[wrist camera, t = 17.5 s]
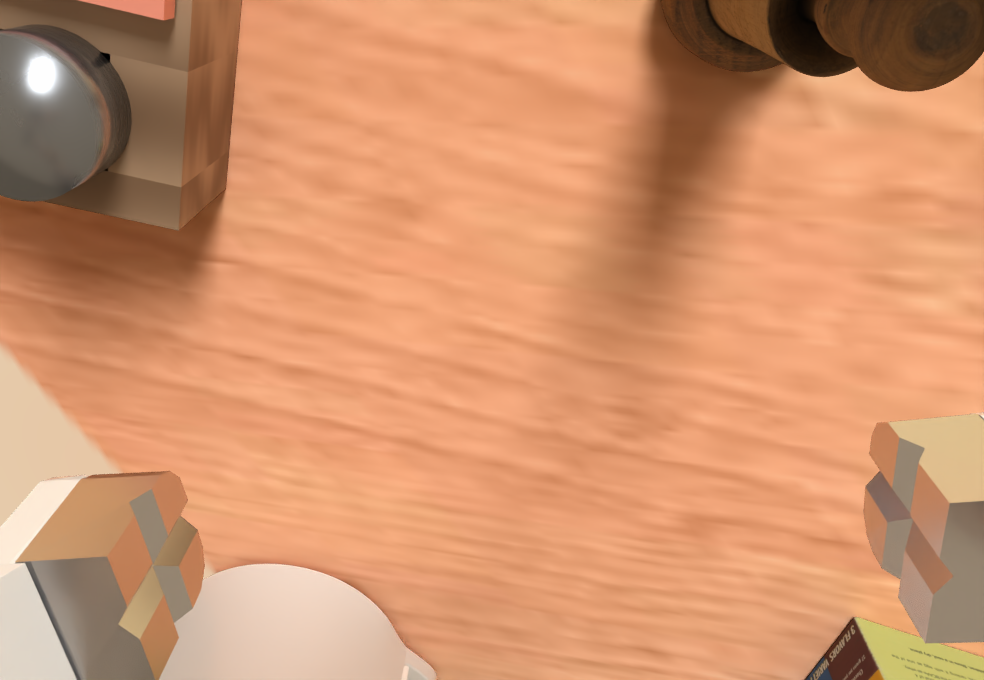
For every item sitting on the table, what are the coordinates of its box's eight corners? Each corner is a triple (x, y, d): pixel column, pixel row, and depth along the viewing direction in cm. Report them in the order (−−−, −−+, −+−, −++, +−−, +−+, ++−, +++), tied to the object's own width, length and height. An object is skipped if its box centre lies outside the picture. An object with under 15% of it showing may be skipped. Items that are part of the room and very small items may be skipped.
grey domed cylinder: (134, 174, 37) (42, 232, 30) (22, 84, 36) (-102, 123, 28) (206, 80, 35) (126, 118, 28) (92, -19, 34) (-23, -5, 26)
